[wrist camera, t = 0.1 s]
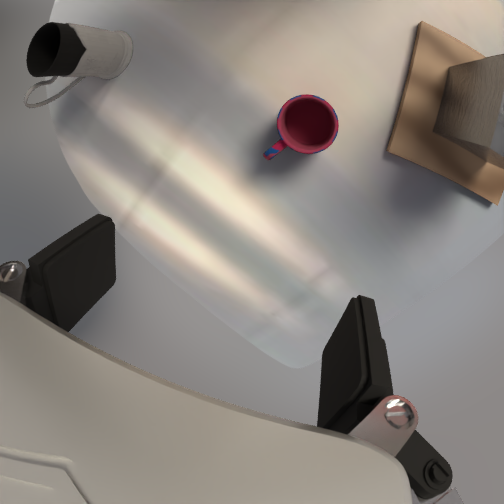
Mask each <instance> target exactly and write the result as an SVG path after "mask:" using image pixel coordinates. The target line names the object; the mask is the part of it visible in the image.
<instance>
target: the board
mask: <svg viewBox="0 0 504 504" xmlns="http://www.w3.org/2000/svg"><path fill="white" fill-rule="evenodd" d="M483 58H486V57H485V56H483V55H482V54H480V53H479V52H477V51H476V50H474V49H473V48H471V47H469V46H468V45H466V44H464V43H463V42H461V41H459V40H458V39H456V38H454V37H452V36H450V35H449V34H447V33H445V32H443V31H441V30H439V29H437V28H435V27H433V26H431V25H429V24H427V23H425V22H423V21H421V22H420V23H419V24H418V30H417V35H416V40H415V45H414V50H413V54H412V59H411V63H410V68H409V72H408V76H407V80H406V84H405V88H404V92H403V95H402V99H401V103H400V107H399V110H398V114H397V117H396V121H395V124H394V127H393V131H392V134H391V137H390V140H389V144H388V147H387V150H386V151H388V152H390V153H392V154H395V155H397V156H400V157H402V158H404V159H407V160H409V161H411V162H414V163H416V164H418V165H420V166H423V167H425V168H427V169H429V170H431V171H433V172H436V173H438V174H440V175H442V176H444V177H446V178H448V179H450V180H452V181H454V182H456V183H458V184H460V185H462V186H464V187H465V188H467V189H469V190H471V191H473V192H475V193H476V194H478V195H480V196H482V197H484V198H485V199H487V200H489V201H491V202H492V203H494V204H496V205H497V206H498V203H499V201H500V198H501V196H502V193H503V190H504V169H502V168H499V167H497V166H495V165H493V164H490V163H488V162H486V161H484V160H483V159H481V158H479V157H478V156H476V155H474V154H473V153H471V152H469V151H468V150H466V149H464V148H462V147H460V146H459V145H457V144H455V143H453V142H451V141H449V140H447V139H446V138H444V137H442V136H440V135H438V134H436V133H434V132H433V129H434V125H435V122H436V118H437V115H438V111H439V107H440V103H441V99H442V95H443V91H444V87H445V83H446V78H447V74H448V69H449V67H450V66H454V65H458V64H462V63H466V62H470V61H475V60H479V59H483Z"/></svg>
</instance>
